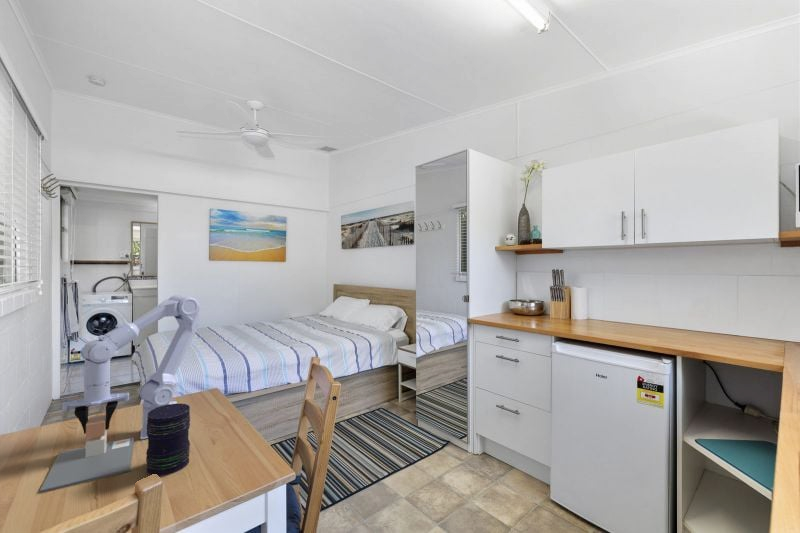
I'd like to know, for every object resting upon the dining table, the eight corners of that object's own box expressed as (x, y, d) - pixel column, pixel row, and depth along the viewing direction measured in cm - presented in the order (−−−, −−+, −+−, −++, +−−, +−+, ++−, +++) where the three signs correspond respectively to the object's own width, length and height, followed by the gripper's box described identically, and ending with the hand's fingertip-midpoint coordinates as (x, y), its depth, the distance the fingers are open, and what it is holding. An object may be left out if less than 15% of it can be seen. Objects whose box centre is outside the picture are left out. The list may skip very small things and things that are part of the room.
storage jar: (142, 480, 91) (143, 421, 91) (149, 460, 99) (149, 406, 99) (188, 470, 95) (189, 414, 95) (190, 452, 104) (191, 401, 104)
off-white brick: (106, 444, 106) (106, 430, 106) (104, 453, 101) (104, 439, 101) (89, 447, 104) (89, 433, 104) (85, 457, 99) (85, 442, 99)
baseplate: (134, 439, 111) (134, 436, 111) (129, 471, 94) (129, 468, 94) (59, 454, 102) (59, 451, 102) (39, 493, 85) (39, 490, 85)
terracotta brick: (107, 427, 106) (107, 413, 106) (104, 435, 101) (104, 421, 101) (89, 430, 104) (89, 416, 104) (85, 439, 99) (85, 424, 99)
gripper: (59, 391, 95) (59, 442, 96) (128, 382, 103) (127, 429, 104) (65, 383, 101) (65, 431, 101) (129, 375, 109) (129, 420, 109)
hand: (96, 430), depth 103 cm, fingers closed on terracotta brick, 4 cm apart
